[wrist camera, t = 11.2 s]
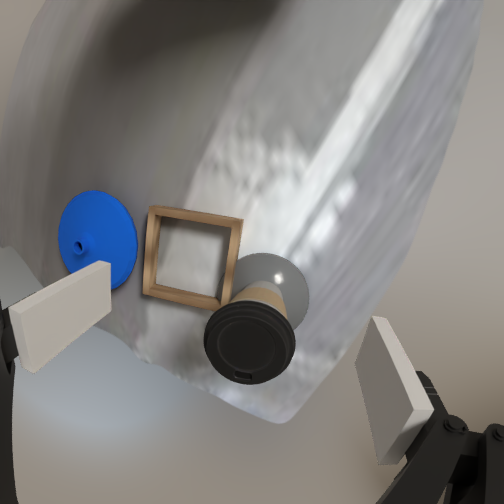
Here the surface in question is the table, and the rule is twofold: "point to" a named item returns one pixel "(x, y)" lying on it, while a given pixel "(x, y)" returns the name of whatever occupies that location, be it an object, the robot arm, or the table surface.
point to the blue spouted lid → (98, 235)
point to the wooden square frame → (152, 256)
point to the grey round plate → (278, 274)
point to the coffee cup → (251, 335)
